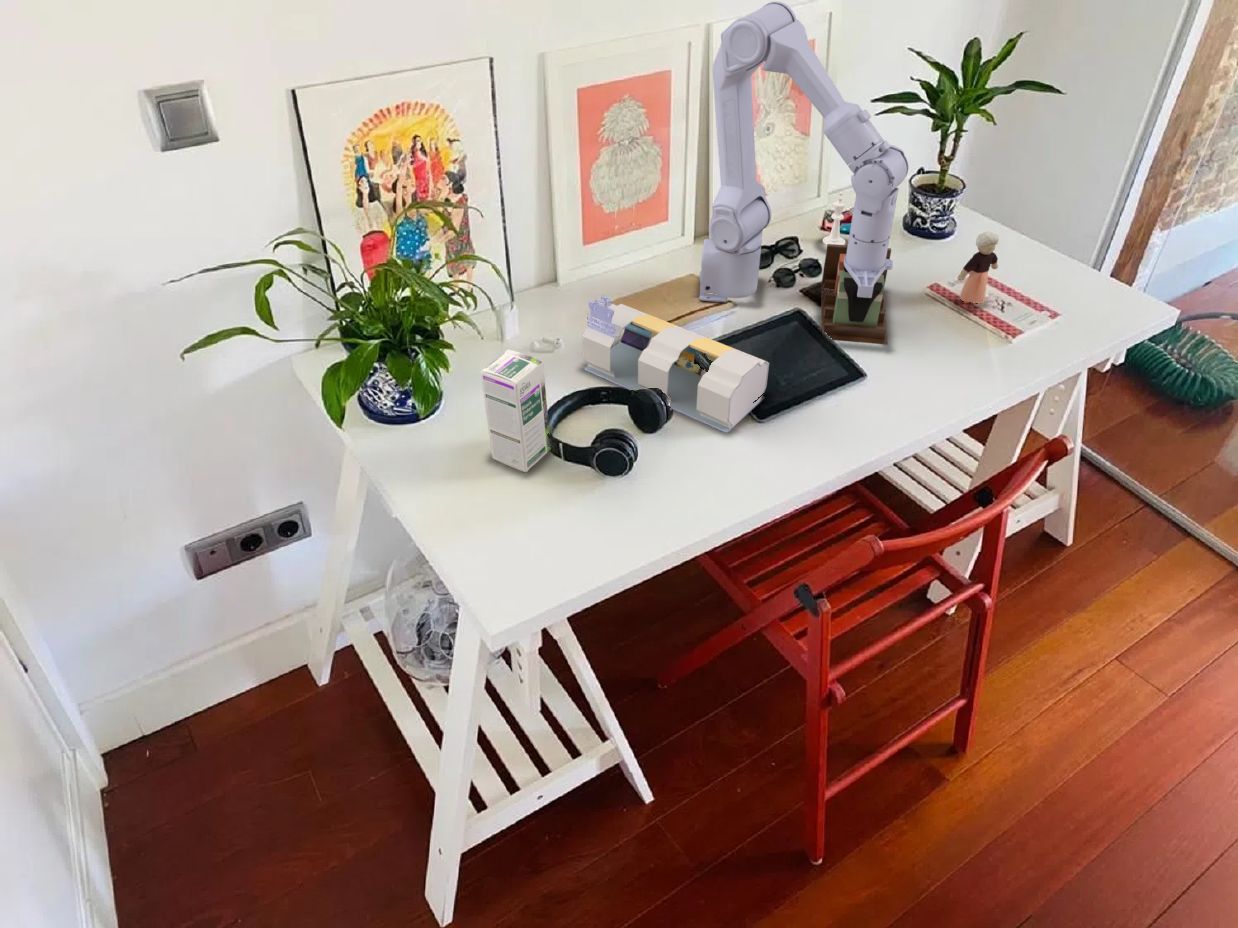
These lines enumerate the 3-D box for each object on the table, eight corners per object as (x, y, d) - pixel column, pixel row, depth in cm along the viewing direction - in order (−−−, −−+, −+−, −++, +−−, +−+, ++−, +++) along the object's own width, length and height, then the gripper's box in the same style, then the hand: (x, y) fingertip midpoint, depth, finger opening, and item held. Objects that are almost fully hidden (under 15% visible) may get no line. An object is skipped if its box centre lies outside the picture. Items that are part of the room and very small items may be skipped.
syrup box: (526, 474, 129) (518, 383, 120) (490, 459, 132) (479, 369, 122) (551, 450, 133) (545, 360, 124) (515, 435, 135) (507, 346, 126)
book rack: (819, 344, 152) (826, 299, 147) (821, 287, 165) (827, 243, 159) (886, 350, 151) (896, 304, 145) (882, 292, 163) (891, 248, 158)
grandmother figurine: (966, 316, 157) (985, 244, 149) (947, 306, 160) (964, 235, 151) (996, 300, 161) (1015, 229, 153) (976, 291, 163) (994, 220, 155)
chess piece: (818, 251, 174) (826, 198, 167) (819, 238, 177) (826, 185, 171) (847, 254, 173) (856, 200, 166) (847, 240, 177) (855, 187, 170)
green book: (832, 330, 153) (840, 281, 147) (832, 319, 155) (840, 271, 150) (875, 333, 152) (884, 285, 147) (874, 323, 154) (883, 274, 149)
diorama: (583, 370, 147) (580, 293, 139) (625, 339, 153) (624, 263, 145) (726, 433, 136) (732, 354, 127) (765, 397, 142) (774, 319, 133)
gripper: (900, 260, 137) (884, 342, 146) (895, 212, 148) (880, 292, 157) (849, 256, 138) (835, 338, 147) (847, 209, 149) (835, 288, 158)
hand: (855, 314), depth 152 cm, fingers closed on green book, 3 cm apart
